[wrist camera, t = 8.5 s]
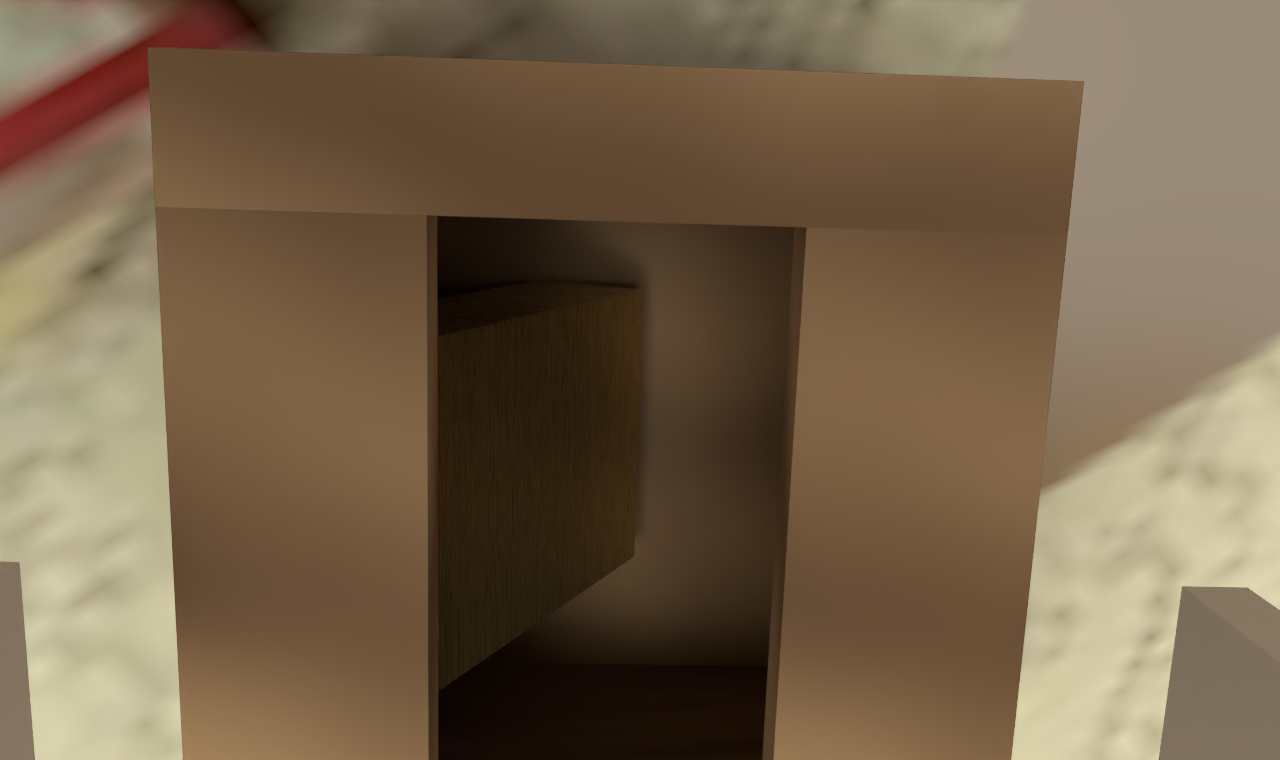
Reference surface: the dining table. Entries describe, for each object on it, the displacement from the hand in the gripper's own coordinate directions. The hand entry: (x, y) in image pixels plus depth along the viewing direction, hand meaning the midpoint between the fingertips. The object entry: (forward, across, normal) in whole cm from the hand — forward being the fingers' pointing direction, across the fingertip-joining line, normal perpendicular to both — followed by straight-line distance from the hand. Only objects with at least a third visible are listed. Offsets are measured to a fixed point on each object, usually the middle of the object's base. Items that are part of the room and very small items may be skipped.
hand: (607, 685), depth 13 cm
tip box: (+14, 0, 0) cm, 14 cm away
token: (+13, 0, 0) cm, 13 cm away
